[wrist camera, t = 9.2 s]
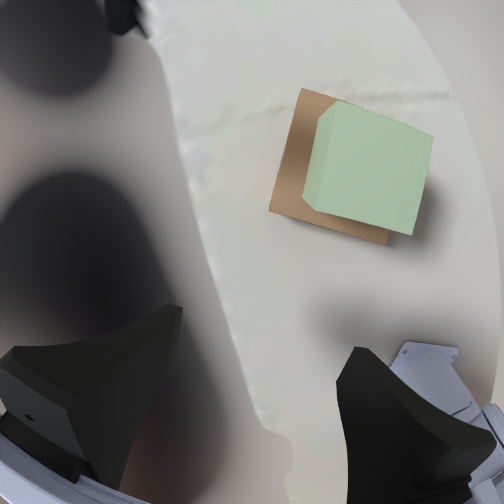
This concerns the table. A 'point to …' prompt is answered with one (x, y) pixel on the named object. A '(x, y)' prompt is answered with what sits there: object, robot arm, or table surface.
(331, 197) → the sage cube
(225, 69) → the table surface
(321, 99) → the walnut block
